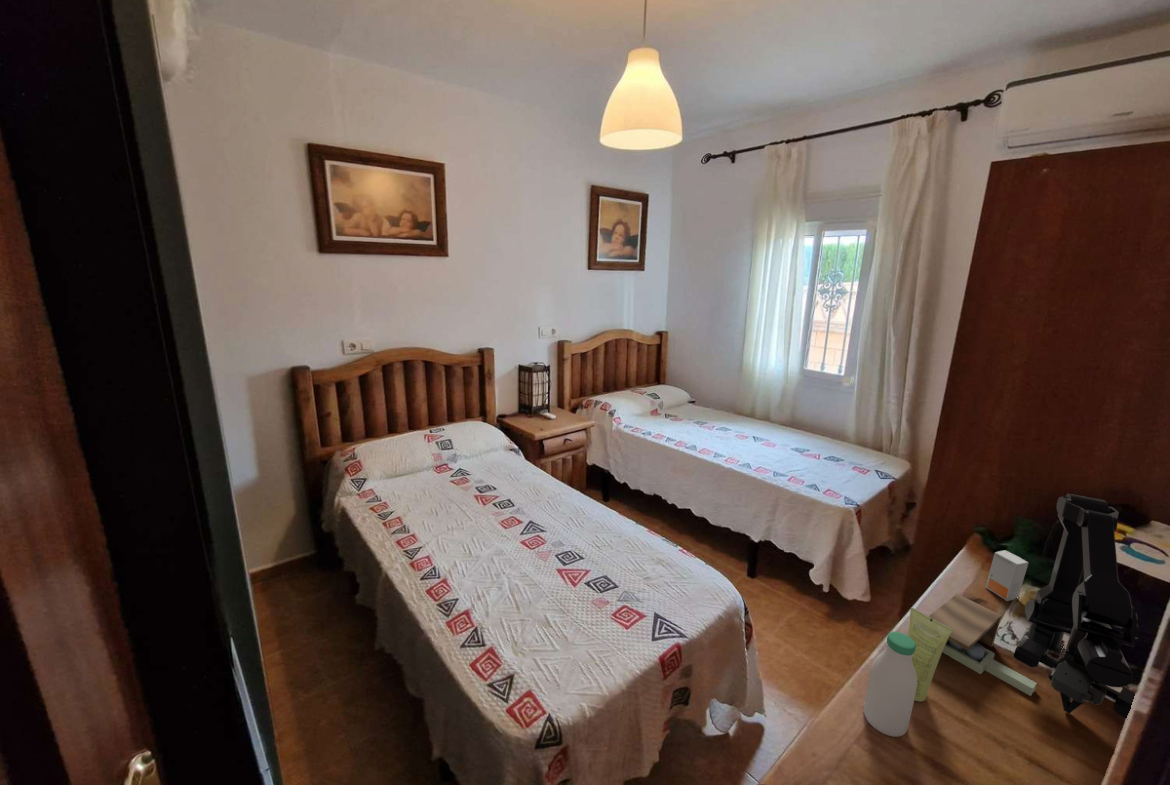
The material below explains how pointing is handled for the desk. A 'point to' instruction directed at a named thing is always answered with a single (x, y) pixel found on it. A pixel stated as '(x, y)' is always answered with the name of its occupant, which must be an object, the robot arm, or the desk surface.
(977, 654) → the grey rounded lump
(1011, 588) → the skincare box
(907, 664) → the milk bottle
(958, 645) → the grey rounded lump
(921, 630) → the tube
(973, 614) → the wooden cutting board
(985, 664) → the tray
